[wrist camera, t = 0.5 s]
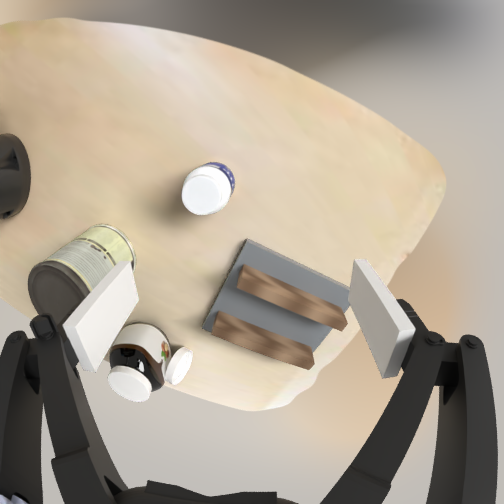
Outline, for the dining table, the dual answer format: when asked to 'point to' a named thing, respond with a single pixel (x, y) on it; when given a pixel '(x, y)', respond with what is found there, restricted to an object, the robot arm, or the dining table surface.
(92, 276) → the coffee can
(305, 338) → the plate
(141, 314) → the dining table surface
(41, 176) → the dining table surface
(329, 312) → the wooden rail pair
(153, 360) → the spread jar
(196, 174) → the pill bottle
